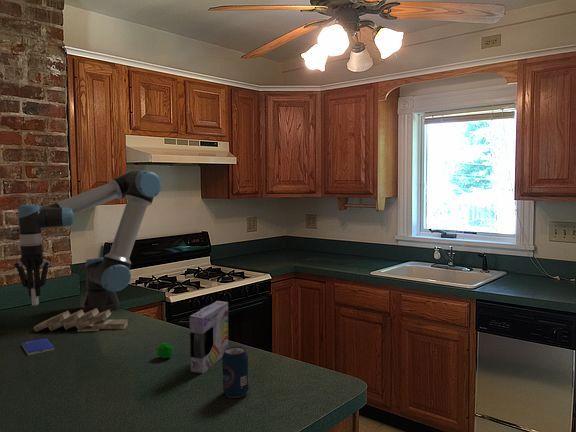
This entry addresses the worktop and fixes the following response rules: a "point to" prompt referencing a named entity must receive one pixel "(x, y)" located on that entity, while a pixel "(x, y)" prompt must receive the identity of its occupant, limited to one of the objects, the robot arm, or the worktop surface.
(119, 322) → the domino
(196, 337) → the cake pan box
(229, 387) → the soda can
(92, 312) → the domino
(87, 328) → the end pad
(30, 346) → the hard drive
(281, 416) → the worktop surface
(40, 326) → the domino
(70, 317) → the domino
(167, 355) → the polyhedron
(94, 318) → the domino
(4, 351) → the worktop surface
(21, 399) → the worktop surface
